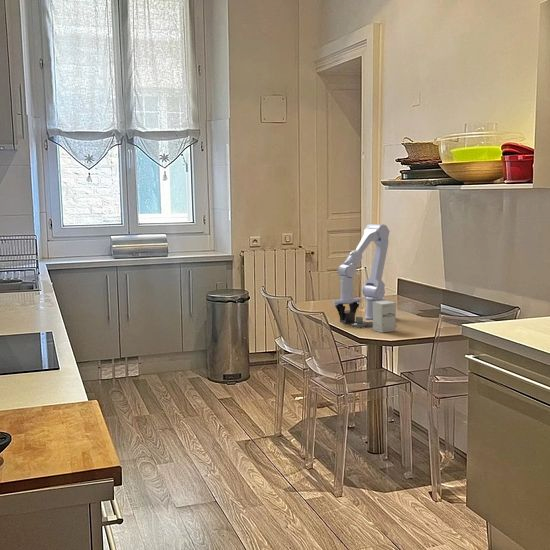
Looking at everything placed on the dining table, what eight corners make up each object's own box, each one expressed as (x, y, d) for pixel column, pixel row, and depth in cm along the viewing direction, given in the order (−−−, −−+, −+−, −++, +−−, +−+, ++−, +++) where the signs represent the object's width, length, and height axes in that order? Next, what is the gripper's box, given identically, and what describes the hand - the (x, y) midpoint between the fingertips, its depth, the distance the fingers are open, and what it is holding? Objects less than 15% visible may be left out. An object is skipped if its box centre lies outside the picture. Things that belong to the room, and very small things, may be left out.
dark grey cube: (348, 320, 327) (348, 310, 326) (354, 322, 323) (354, 311, 322) (339, 322, 325) (339, 311, 324) (345, 324, 320) (345, 313, 320)
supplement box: (381, 333, 300) (381, 304, 299) (372, 329, 307) (372, 301, 305) (396, 331, 303) (396, 302, 301) (386, 328, 310) (386, 299, 308)
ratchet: (393, 323, 319) (393, 315, 318) (395, 327, 311) (395, 318, 310) (350, 324, 320) (350, 315, 319) (351, 328, 312) (351, 319, 311)
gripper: (338, 293, 315) (338, 322, 317) (365, 289, 321) (365, 318, 323) (329, 290, 321) (330, 320, 323) (356, 287, 328) (356, 316, 329)
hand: (347, 319), depth 324 cm, fingers closed on dark grey cube, 5 cm apart
